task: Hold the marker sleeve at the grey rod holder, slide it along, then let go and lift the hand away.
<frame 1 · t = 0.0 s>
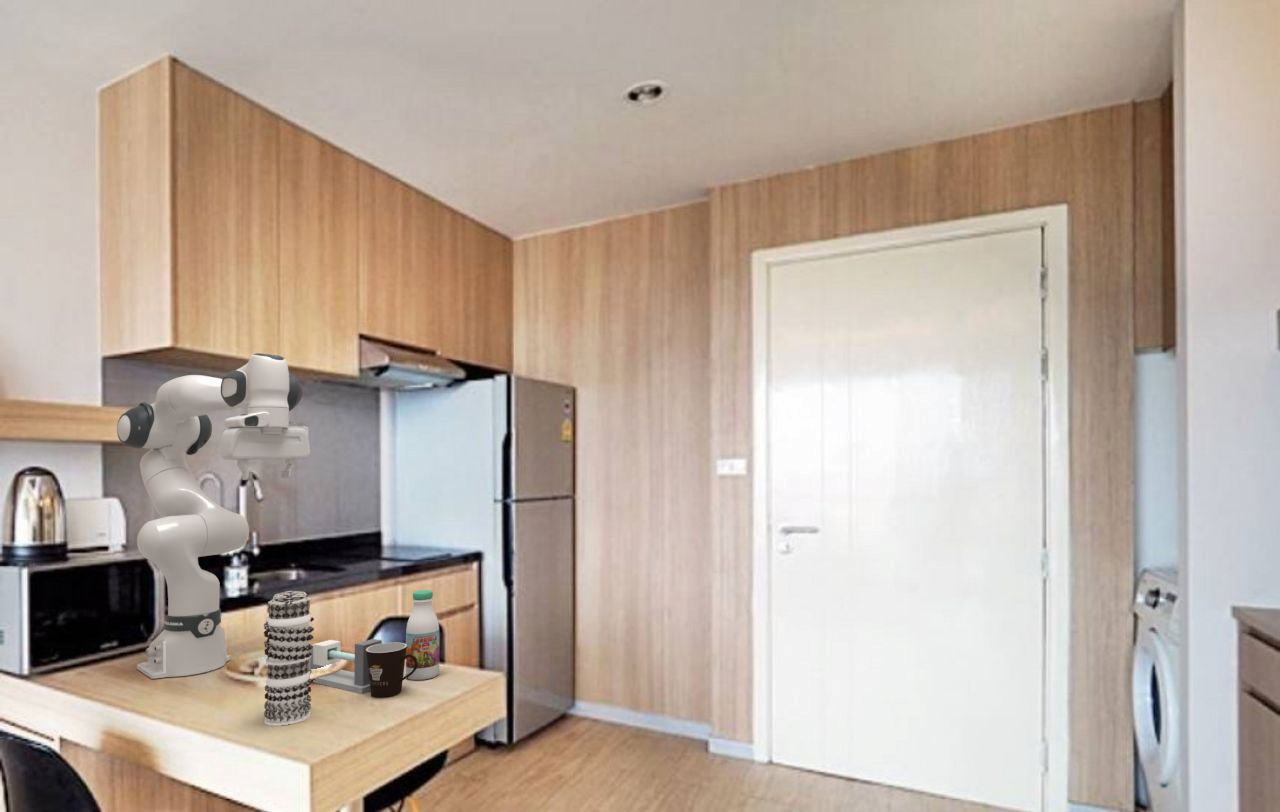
hand: (267, 479, 166), 48 cm above the counter, fingers open, 8 cm apart
marker sleeve: (327, 652, 168), point 6 cm above the counter, slide at 0.0 cm
milk bottle: (422, 676, 168), on the counter
decorative candle: (287, 719, 142), on the counter
coffee mug: (389, 695, 155), on the counter
grey rod holder: (344, 682, 165), on the counter
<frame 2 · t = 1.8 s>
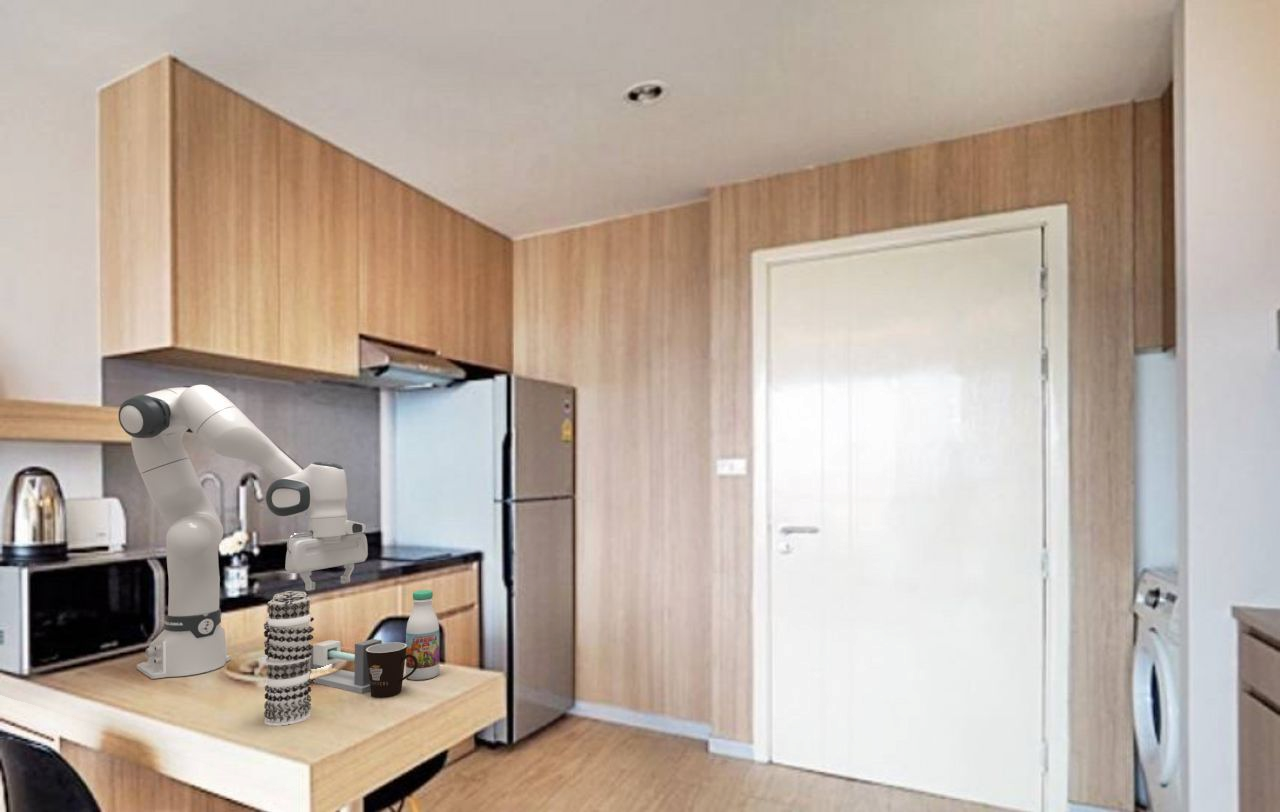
hand: (328, 586, 170), 22 cm above the counter, fingers open, 8 cm apart
nothing on the counter moved.
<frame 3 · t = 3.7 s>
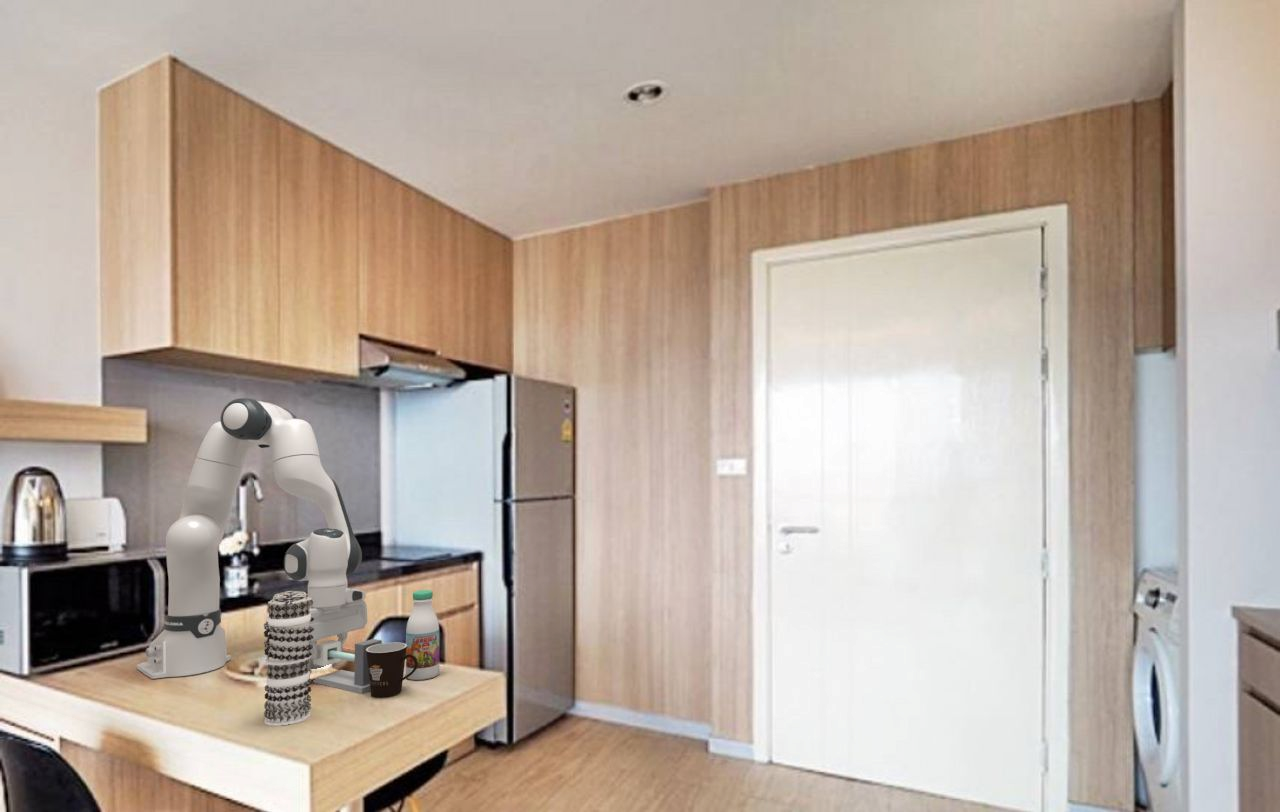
hand: (327, 655, 168), 5 cm above the counter, fingers closed on marker sleeve, 5 cm apart
marker sleeve: (327, 652, 168), point 6 cm above the counter, slide at 0.0 cm, touching gripper
everything else where it was.
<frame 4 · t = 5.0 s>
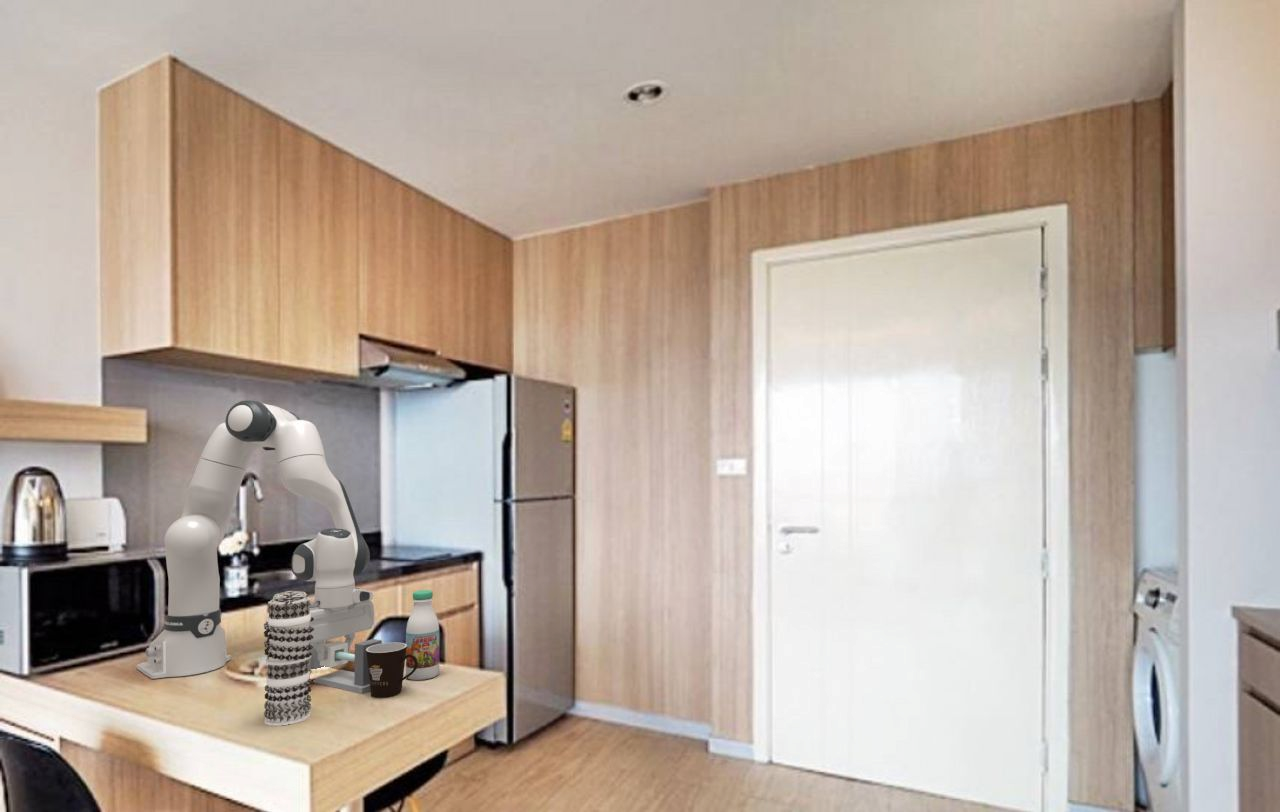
hand: (334, 656, 167), 5 cm above the counter, fingers open, 5 cm apart
marker sleeve: (334, 654, 167), point 6 cm above the counter, slide at 2.7 cm, touching gripper
everything else where it was.
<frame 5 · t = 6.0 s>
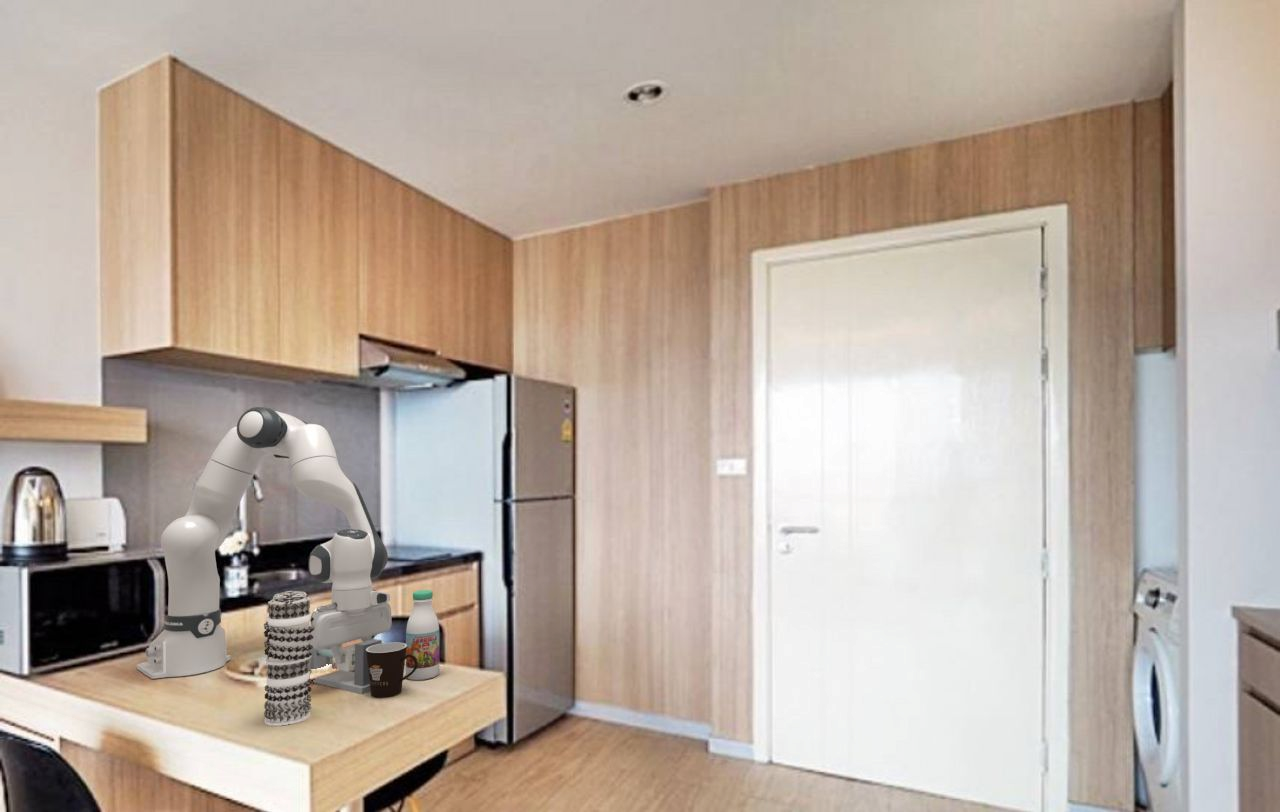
hand: (351, 659, 164), 5 cm above the counter, fingers closed on marker sleeve, 5 cm apart
marker sleeve: (351, 657, 164), point 6 cm above the counter, slide at 9.0 cm, touching gripper
everything else where it was.
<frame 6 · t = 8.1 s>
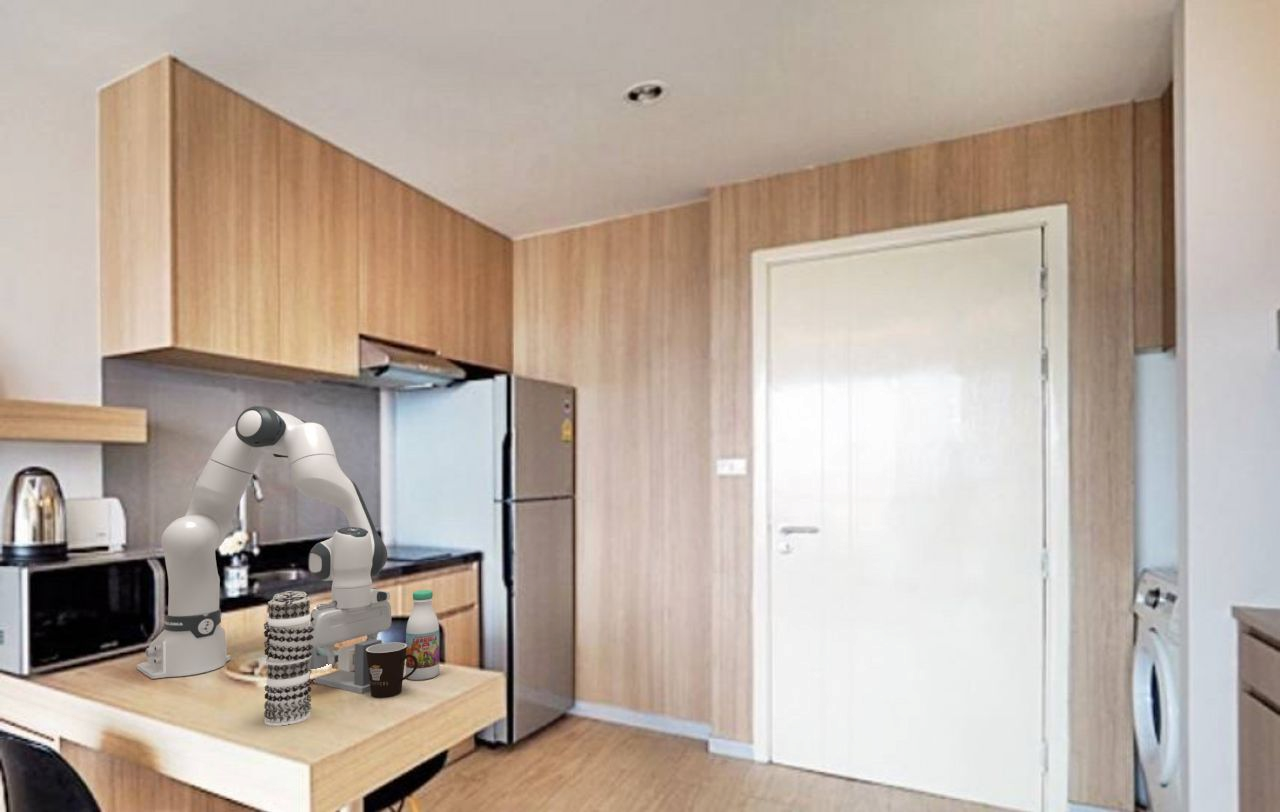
hand: (350, 658, 164), 6 cm above the counter, fingers open, 8 cm apart
marker sleeve: (351, 657, 164), point 6 cm above the counter, slide at 9.2 cm
everything else where it was.
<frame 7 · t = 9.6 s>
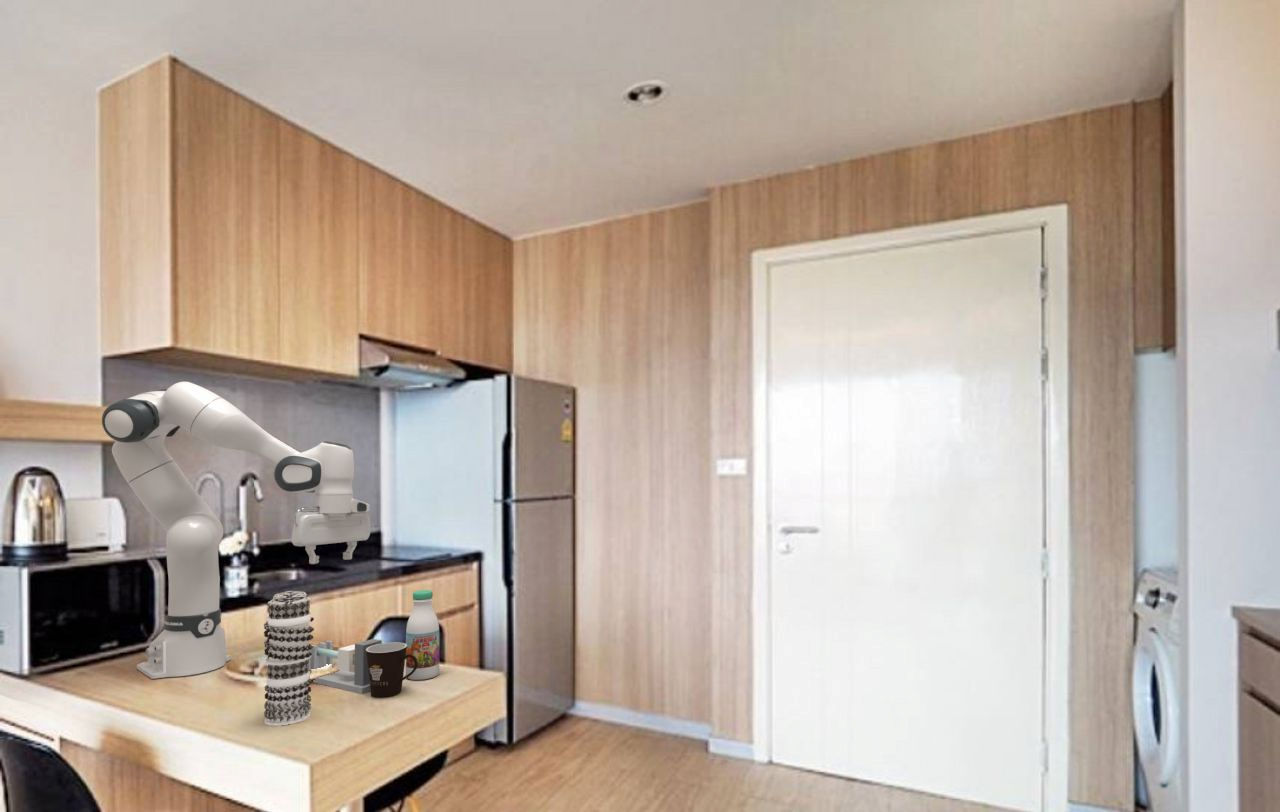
hand: (331, 561, 176), 27 cm above the counter, fingers open, 8 cm apart
nothing on the counter moved.
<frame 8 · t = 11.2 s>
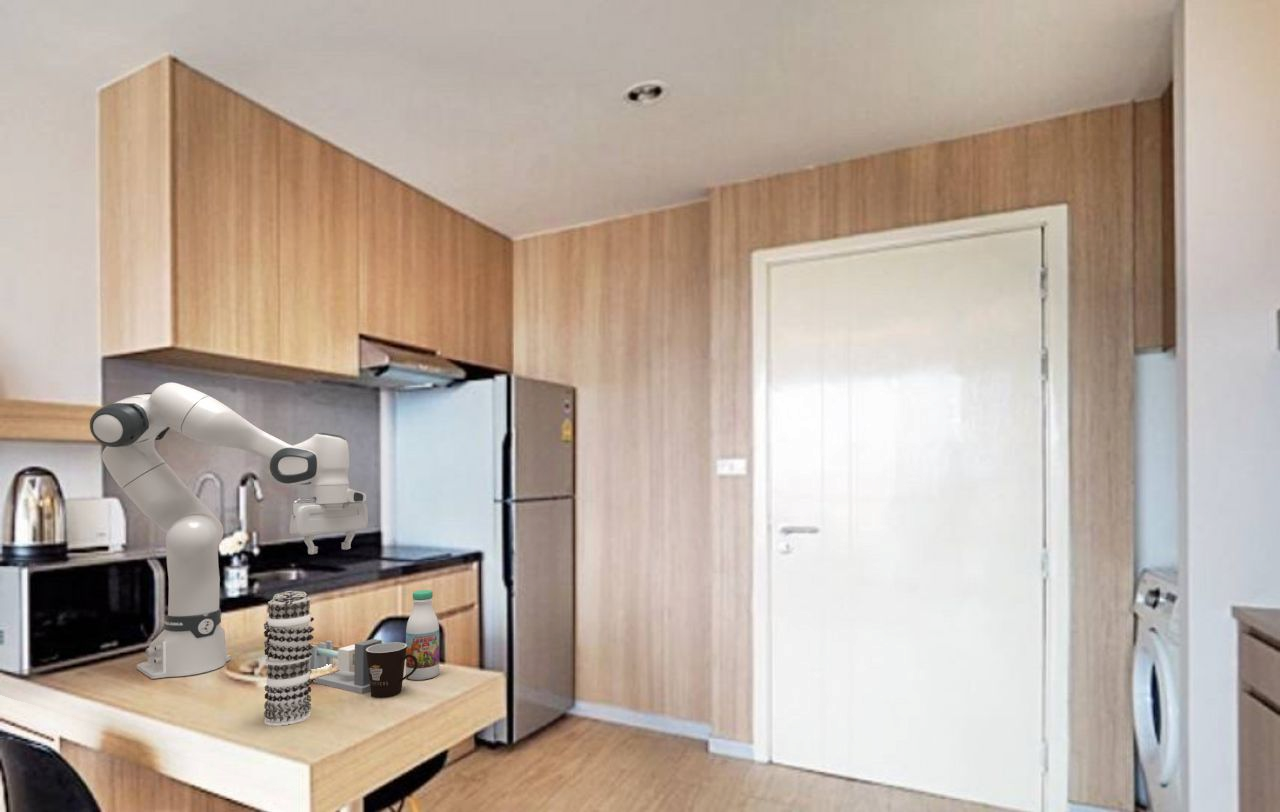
hand: (329, 551, 178), 29 cm above the counter, fingers open, 8 cm apart
nothing on the counter moved.
at the end: marker sleeve slide at 9.2 cm; the gripper is holding nothing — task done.
